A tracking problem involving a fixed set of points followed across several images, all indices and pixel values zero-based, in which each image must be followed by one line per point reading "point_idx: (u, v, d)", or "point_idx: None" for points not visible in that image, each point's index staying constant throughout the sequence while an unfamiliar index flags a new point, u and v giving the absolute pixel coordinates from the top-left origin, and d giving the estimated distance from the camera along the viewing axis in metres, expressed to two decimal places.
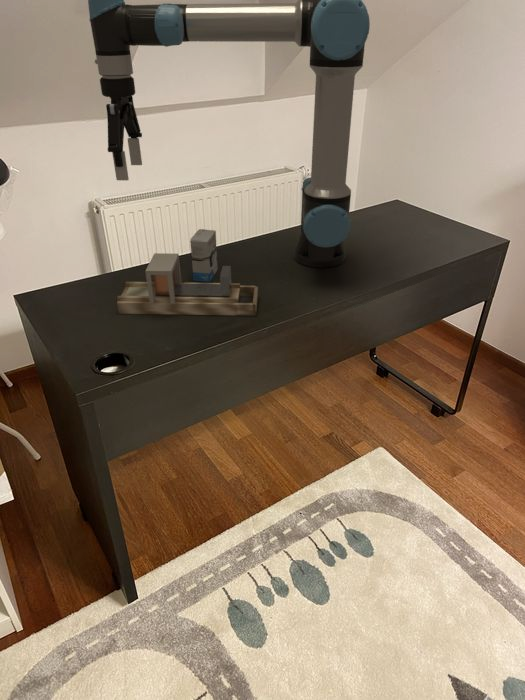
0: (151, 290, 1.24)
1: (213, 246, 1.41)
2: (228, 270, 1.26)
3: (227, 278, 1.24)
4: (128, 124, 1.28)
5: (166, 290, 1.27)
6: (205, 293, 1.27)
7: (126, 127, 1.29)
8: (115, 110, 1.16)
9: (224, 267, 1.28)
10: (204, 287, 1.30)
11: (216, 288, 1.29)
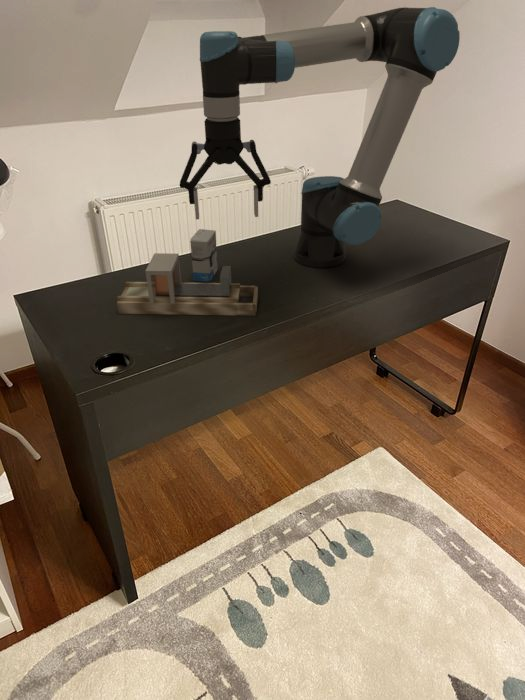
0: (151, 290, 1.24)
1: (213, 246, 1.41)
2: (228, 270, 1.26)
3: (227, 278, 1.24)
4: None
5: (166, 290, 1.27)
6: (205, 293, 1.27)
7: None
8: None
9: (224, 267, 1.28)
10: (204, 287, 1.30)
11: (216, 288, 1.29)
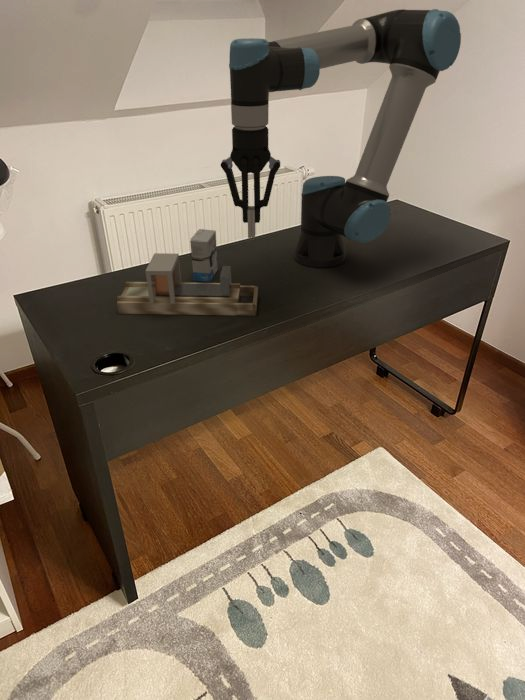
0: (151, 290, 1.24)
1: (213, 246, 1.41)
2: (228, 270, 1.26)
3: (227, 278, 1.24)
4: None
5: (166, 290, 1.27)
6: (205, 293, 1.27)
7: None
8: None
9: (224, 267, 1.28)
10: (204, 287, 1.30)
11: (216, 288, 1.29)
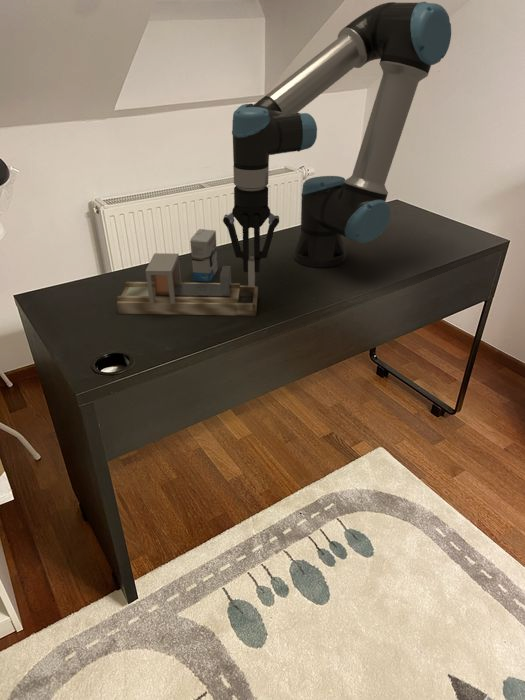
0: (151, 290, 1.24)
1: (213, 246, 1.41)
2: (228, 270, 1.26)
3: (227, 278, 1.24)
4: None
5: (166, 290, 1.27)
6: (205, 293, 1.27)
7: None
8: None
9: (224, 267, 1.28)
10: (204, 287, 1.30)
11: (216, 288, 1.29)
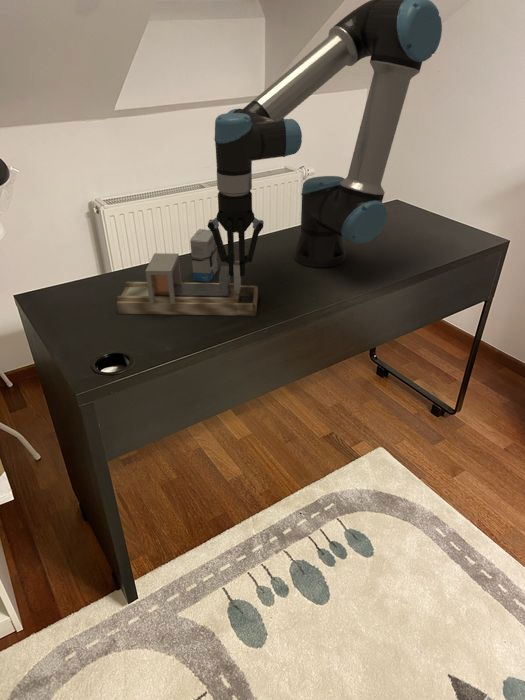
0: (151, 290, 1.24)
1: (213, 246, 1.41)
2: (227, 270, 1.26)
3: (226, 278, 1.24)
4: None
5: (165, 290, 1.27)
6: (204, 293, 1.27)
7: None
8: None
9: (223, 267, 1.28)
10: (203, 287, 1.30)
11: (215, 288, 1.29)
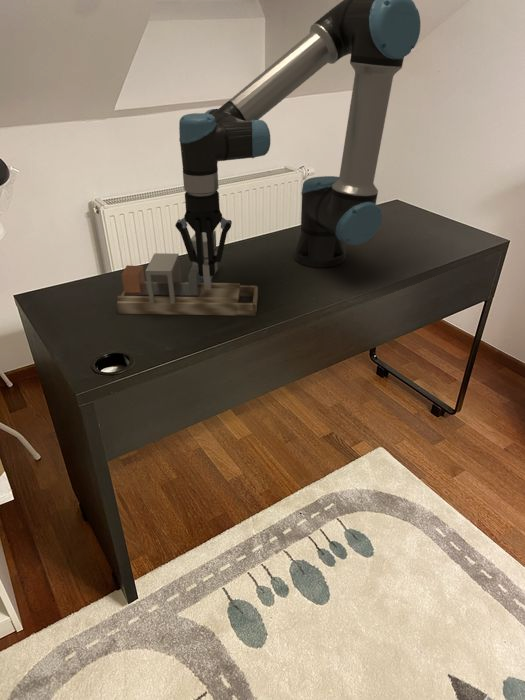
0: (151, 290, 1.24)
1: None
2: (197, 270, 1.26)
3: (195, 278, 1.24)
4: None
5: (135, 290, 1.27)
6: (174, 293, 1.27)
7: None
8: None
9: (193, 267, 1.28)
10: (174, 287, 1.30)
11: (185, 288, 1.29)
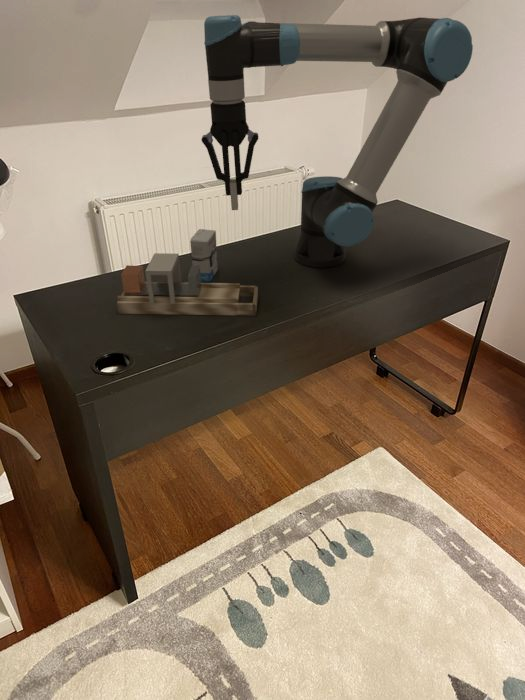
0: (151, 290, 1.24)
1: (213, 246, 1.41)
2: (196, 270, 1.26)
3: (195, 278, 1.24)
4: None
5: (135, 290, 1.27)
6: (174, 293, 1.27)
7: None
8: None
9: (193, 267, 1.28)
10: None
11: (185, 288, 1.29)
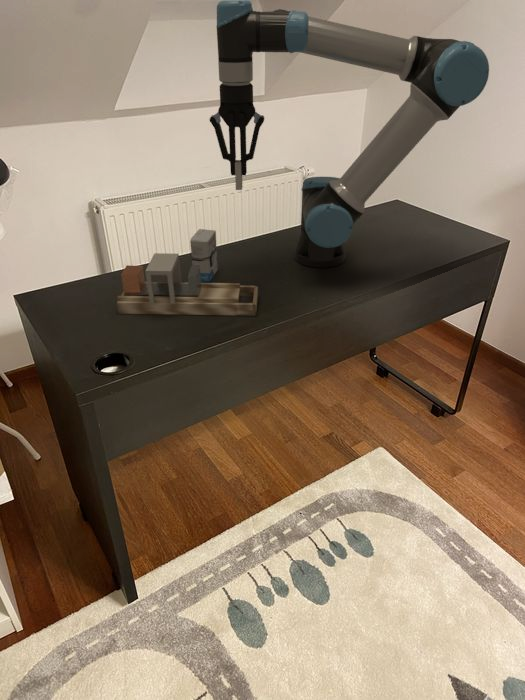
0: (151, 290, 1.24)
1: (213, 246, 1.41)
2: (196, 270, 1.26)
3: (195, 278, 1.24)
4: None
5: (135, 290, 1.27)
6: (174, 293, 1.27)
7: None
8: None
9: (193, 267, 1.28)
10: None
11: (185, 288, 1.29)
